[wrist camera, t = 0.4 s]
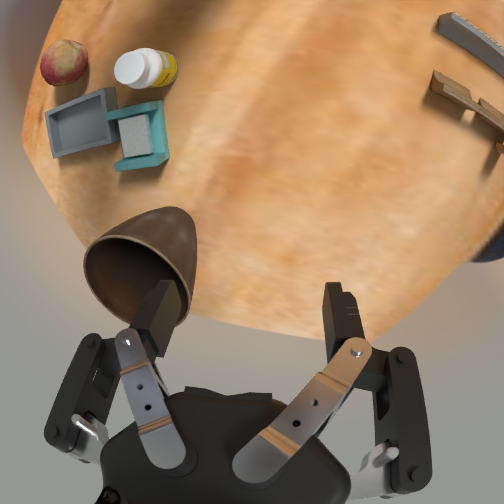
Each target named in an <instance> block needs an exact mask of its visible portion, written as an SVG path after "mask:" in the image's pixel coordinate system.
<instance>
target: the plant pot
mask: <svg viewBox="0 0 504 504" xmlns="http://www.w3.org/2000/svg"><path fill="white" fill-rule="evenodd" d="M196 266H197V237H196V229H195V224H194V222H193V220H192V218H191V217H190V215H189V214H188V213H187V212H185V211H184V210H182V209H180V208H177V207H163V208H159V209H155V210H151V211H148V212H145V213H143V214H140V215H138V216H135V217H133V218H131V219H129V220H127V221H125V222H123V223H121V224H120V225H118V226H116V227H115V228H113V229H111V230H110V231H108V232H107V233H105V234H104V235H102V236H101V237H100V238H98V239H97V240H95V241H94V242H93V243H92V244H91V245H90V246H89V247H88V249H87V251H86V253H85V256H84V274H85V277H86V280H87V283H88V285H89V287H90V289H91V291H92V293H93V294H94V296H95V297H96V298H97V300H98V301H99V302H100V303H101V304H102V305H103V306H104V307H105V308H106V309H107V310H108V311H109V312H111V313H112V314H113V315H115V316H116V317H117V318H119V319H121V320H122V321H124V322H126V323H128V324H131V322H132V320H133V318H134V316H135V314H136V312H137V310H138V309H139V306H140V304H141V303H142V300H143V298H144V297H145V295H146V294H147V293H148V292H149V291H150V290H151V289H155V288H156V286H157V284H158V282H159V281H160V280H173V281H175V284H176V287H177V290H178V293H179V296H180V299H181V311H180V314H179V317H178V319H177V322H176V325H175V327H176V326H178V325H180V324H181V323H182V322H183V321H184V320H185V319H186V317H187V316H188V313H189V310H190V305H191V300H192V295H193V289H194V283H195V276H196Z"/></svg>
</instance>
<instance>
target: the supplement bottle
mask: <svg viewBox="0 0 504 504" xmlns="http://www.w3.org/2000/svg"><path fill="white" fill-rule="evenodd" d="M178 73H179V62H178V60H177V58H176V57H175V56H174V55H172V54H170V53H167V52H163V51H159V50H155V49H150V48H140V49H137V50H134V51H132V52H127V53H125V54H123V55H122V56H121V57H120V58H119V59H118V60H117V62H116V64H115V67H114V75H115V77H116V79H117V80H118V81H119V82H120V83H122V84H126V85H128V86H129V87H131V88H135V89H144V88H157V87H164V86H167V85H169V84H170V83H172V82H173V81H174V80H175V79H176V77H177V76H178Z"/></svg>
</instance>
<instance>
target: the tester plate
mask: <svg viewBox="0 0 504 504" xmlns="http://www.w3.org/2000/svg"><path fill="white" fill-rule="evenodd" d="M118 122H119V128H120V135H121V141H122V146H123V152H124V157H130V156H137V155H143V154H150V153H152V152H154V150H153V143H152V137H151V130H150V123H149V115H148V114H145V115H140V116H135V117H131V118H127V119H122V120H119V121H118Z"/></svg>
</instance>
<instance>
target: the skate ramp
mask: <svg viewBox="0 0 504 504" xmlns="http://www.w3.org/2000/svg"><path fill="white" fill-rule="evenodd" d="M454 13H455V12H450V13H447V14H443V15H440V18H439V32H438V33H440V34H442V35H444V36H445V37H447V38H449V39H450V40H452V41H454V42H455V43H457V44H459V45H460V46H462V47H463V48H465V49H466V50H468V51H469V52H471V53H472V54H474V55H475V56H477V57H478V58H479V59H481V60H482V61H483V62H485V63H486V64H487V65H489V66H490V67H491V68H493V69H494V70H495V71H496V72H498V73H499V74H500V75H501V76H503V77H504V49H503V48H502V49H501V48H500V47H502V46H501V45H500V44H499V45H500V46H498V45H497V42H493V41H492V39H491V38H488V37H487V35H486V36H485V35H484V34H483V32H482V31H481V32H482V33H481V32H480V31H479V30H481V29H476V28H475V26H474V27H473V25H474V24H473V23H472V24H473V25H472V24H471V25H470V24H469V23H468V20H467V19H466V21H467V22H466V21H465V19H464V20H463V19H462V16H461V15H460V16H459V15H458V16H457V15H455V14H454ZM457 14H458V13H457ZM460 17H461V18H460ZM463 18H464V17H463ZM469 22H470V21H469ZM476 27H477V26H476ZM484 33H485V32H484ZM485 34H486V33H485ZM488 36H489V35H488ZM489 37H490V36H489ZM493 40H494V39H493ZM494 41H495V40H494ZM495 43H496V44H495ZM431 90H433V91H435V92H436V93H438V94H440V95H442V96H444V97H446V98H448V99H450V100H451V101H453V102H455V103H457V104H458V105H460V106H462V107H463V108H465V109H468V110H471V111H475V112H477V114H476V116H478V117H479V118H481V119H482V120H484V121H485V122H487V123H488V124H490V125H491V126H493V127H494V128H495V129H497V130H498V131H499V132H501V133H502V134H503V135H504V115H503V114H502V113H501V112H499V111H498V110H497V109H495V108H494V107H493V106H491V105H490V104H489V103H487V102H486V101H485V100H483V99H482V98H480V99H479V104H478V103H476V102H475V101H473V100H472V98H471V95H470V90H468V89H467V88H465V87H464V86H462V85H460V84H459V83H457V82H456V81H454V80H452V79H451V78H449V77H447V76H445V75H444V74H442V73H440V72H438V71H436V70H434V72H433V78H432V83H431ZM495 142H496V141H495ZM494 148H496V149H497V150H498V151H500V152H501V153H503V154H504V145H503V144H500V143H498V142H497V143H496V147H494Z"/></svg>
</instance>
